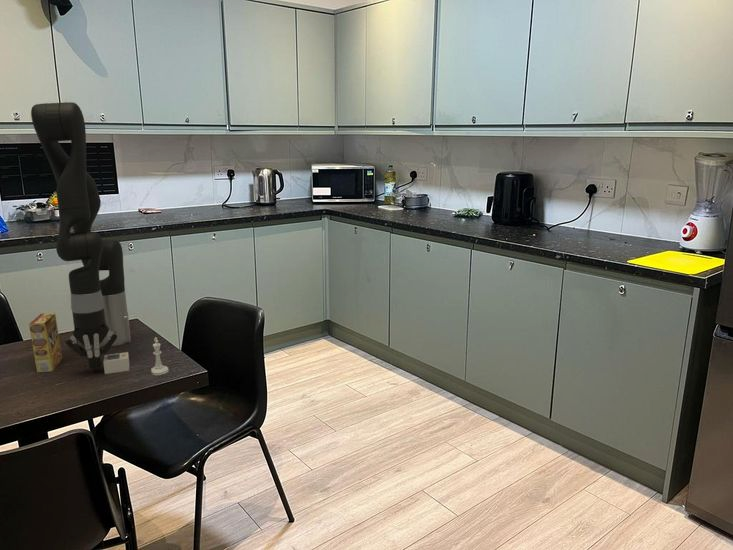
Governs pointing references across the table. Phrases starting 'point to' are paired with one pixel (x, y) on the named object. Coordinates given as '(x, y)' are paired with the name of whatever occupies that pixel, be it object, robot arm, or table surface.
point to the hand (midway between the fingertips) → (96, 368)
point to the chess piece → (158, 361)
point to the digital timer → (116, 363)
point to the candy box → (45, 342)
